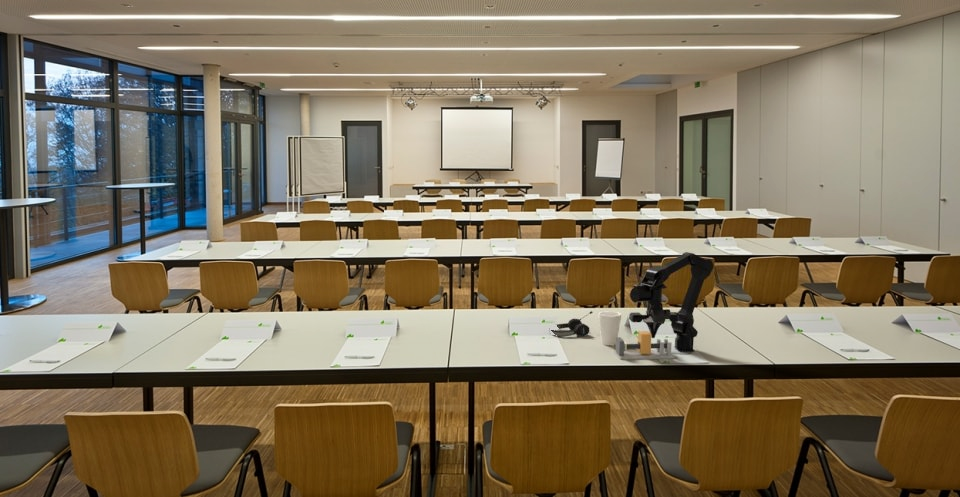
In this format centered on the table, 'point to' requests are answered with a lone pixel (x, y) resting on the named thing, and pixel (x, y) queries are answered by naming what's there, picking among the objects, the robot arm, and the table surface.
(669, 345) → the comb base
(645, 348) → the sleeve
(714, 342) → the table surface
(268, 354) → the table surface
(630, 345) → the dark grey rod
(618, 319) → the foam cup
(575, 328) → the headset
